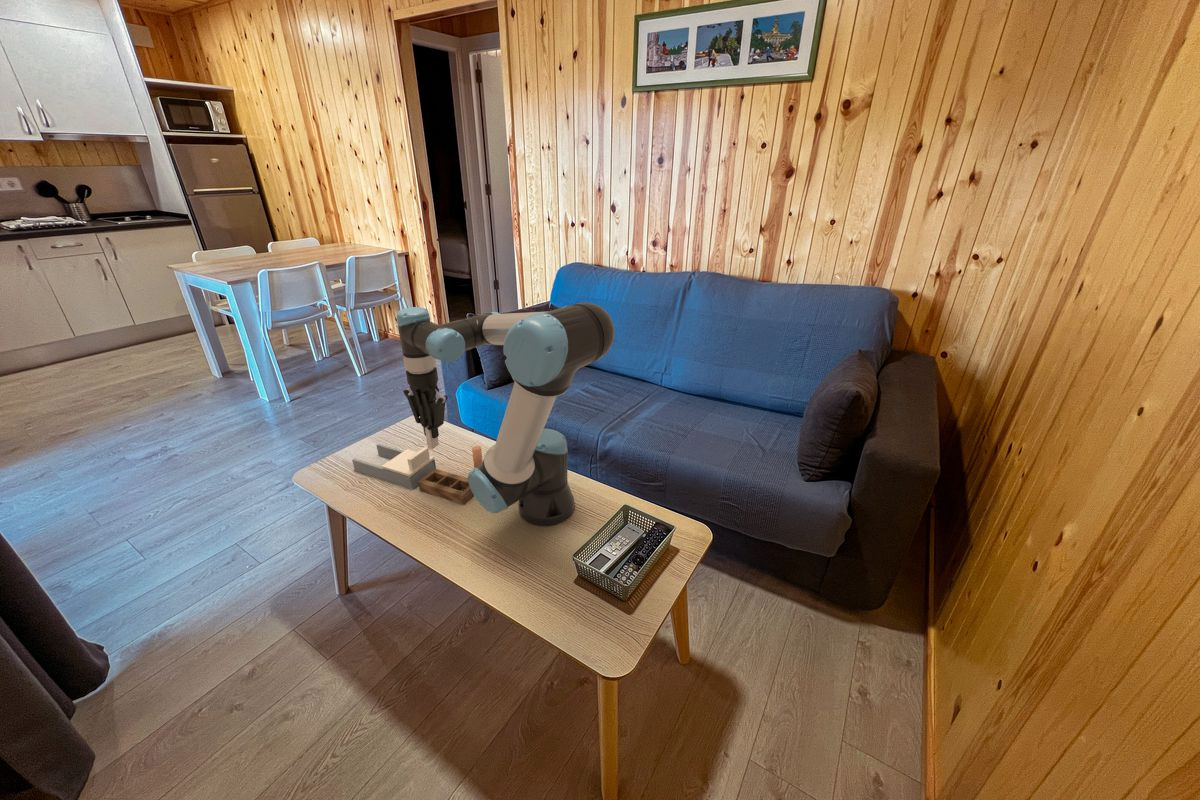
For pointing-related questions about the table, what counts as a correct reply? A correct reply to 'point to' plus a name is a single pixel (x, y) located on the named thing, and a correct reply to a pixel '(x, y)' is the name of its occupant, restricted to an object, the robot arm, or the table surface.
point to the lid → (409, 462)
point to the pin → (477, 456)
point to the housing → (389, 475)
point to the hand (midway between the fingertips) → (433, 446)
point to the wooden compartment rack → (443, 480)
